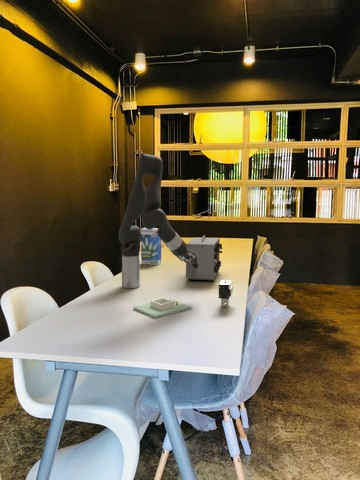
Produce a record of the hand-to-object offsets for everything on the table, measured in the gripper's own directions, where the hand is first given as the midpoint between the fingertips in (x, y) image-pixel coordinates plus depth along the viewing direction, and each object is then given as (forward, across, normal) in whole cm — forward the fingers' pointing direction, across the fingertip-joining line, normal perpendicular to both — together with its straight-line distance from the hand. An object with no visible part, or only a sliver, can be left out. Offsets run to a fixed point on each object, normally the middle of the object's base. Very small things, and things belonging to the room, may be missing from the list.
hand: (194, 266), depth 177 cm
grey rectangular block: (+2, 0, +5) cm, 5 cm away
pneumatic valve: (+13, -19, +10) cm, 25 cm away
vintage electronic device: (+38, +31, -15) cm, 51 cm away
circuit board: (-4, -3, +26) cm, 27 cm away
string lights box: (+38, +86, -14) cm, 94 cm away
